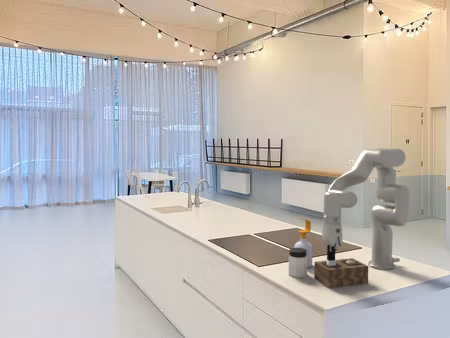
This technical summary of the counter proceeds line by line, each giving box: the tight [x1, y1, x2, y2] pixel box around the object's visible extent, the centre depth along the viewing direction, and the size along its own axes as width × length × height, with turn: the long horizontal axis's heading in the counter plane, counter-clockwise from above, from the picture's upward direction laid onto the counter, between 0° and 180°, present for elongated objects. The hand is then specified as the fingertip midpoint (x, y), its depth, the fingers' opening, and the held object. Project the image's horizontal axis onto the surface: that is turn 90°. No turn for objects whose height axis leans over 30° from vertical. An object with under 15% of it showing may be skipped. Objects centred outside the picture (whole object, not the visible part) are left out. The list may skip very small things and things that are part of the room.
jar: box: [288, 247, 308, 278], centre depth 180 cm, size 9×8×12 cm
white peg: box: [326, 259, 337, 266], centre depth 170 cm, size 4×4×8 cm
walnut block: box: [313, 257, 369, 289], centre depth 171 cm, size 20×12×8 cm, turn 106°
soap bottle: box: [293, 217, 313, 269], centre depth 193 cm, size 9×9×25 cm
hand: (330, 259), depth 169 cm, fingers closed
